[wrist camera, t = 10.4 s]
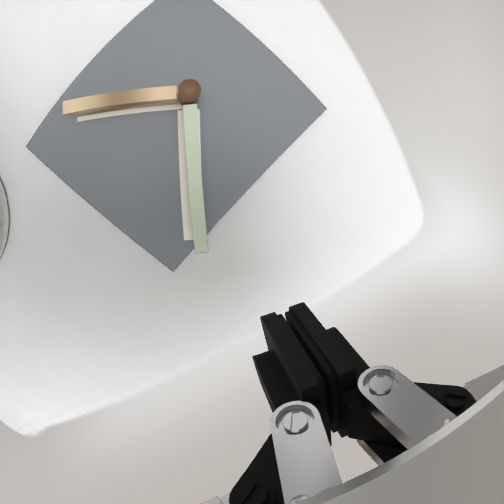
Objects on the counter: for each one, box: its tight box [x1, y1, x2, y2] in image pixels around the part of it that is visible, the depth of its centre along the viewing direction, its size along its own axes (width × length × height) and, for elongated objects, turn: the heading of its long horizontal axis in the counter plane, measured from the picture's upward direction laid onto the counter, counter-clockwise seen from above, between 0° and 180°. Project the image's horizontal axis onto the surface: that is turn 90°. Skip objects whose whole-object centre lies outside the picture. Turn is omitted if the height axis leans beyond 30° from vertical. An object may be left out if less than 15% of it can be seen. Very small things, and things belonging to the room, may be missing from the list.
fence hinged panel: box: [183, 104, 208, 253], centre depth 23 cm, size 11×1×3 cm, turn 3°
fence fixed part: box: [63, 79, 201, 117], centre depth 20 cm, size 10×2×5 cm, turn 91°
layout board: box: [26, 0, 327, 272], centre depth 23 cm, size 20×18×1 cm
